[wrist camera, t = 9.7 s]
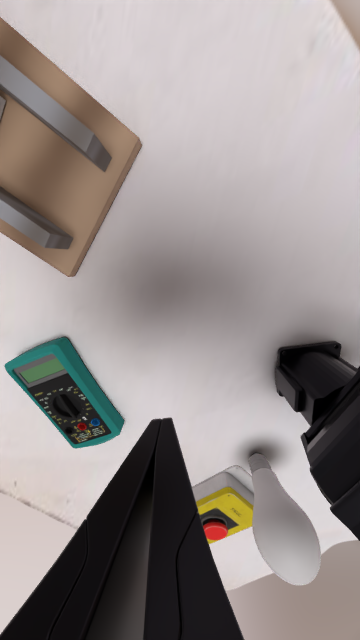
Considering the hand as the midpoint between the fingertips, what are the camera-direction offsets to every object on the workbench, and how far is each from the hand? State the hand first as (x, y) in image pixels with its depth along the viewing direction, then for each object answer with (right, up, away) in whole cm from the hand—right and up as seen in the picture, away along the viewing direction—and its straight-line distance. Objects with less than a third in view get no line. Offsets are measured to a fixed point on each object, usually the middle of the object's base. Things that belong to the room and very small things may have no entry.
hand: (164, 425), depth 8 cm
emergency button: (+7, -25, +23) cm, 34 cm away
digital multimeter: (-13, -5, +16) cm, 21 cm away
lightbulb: (+12, -15, +19) cm, 27 cm away
